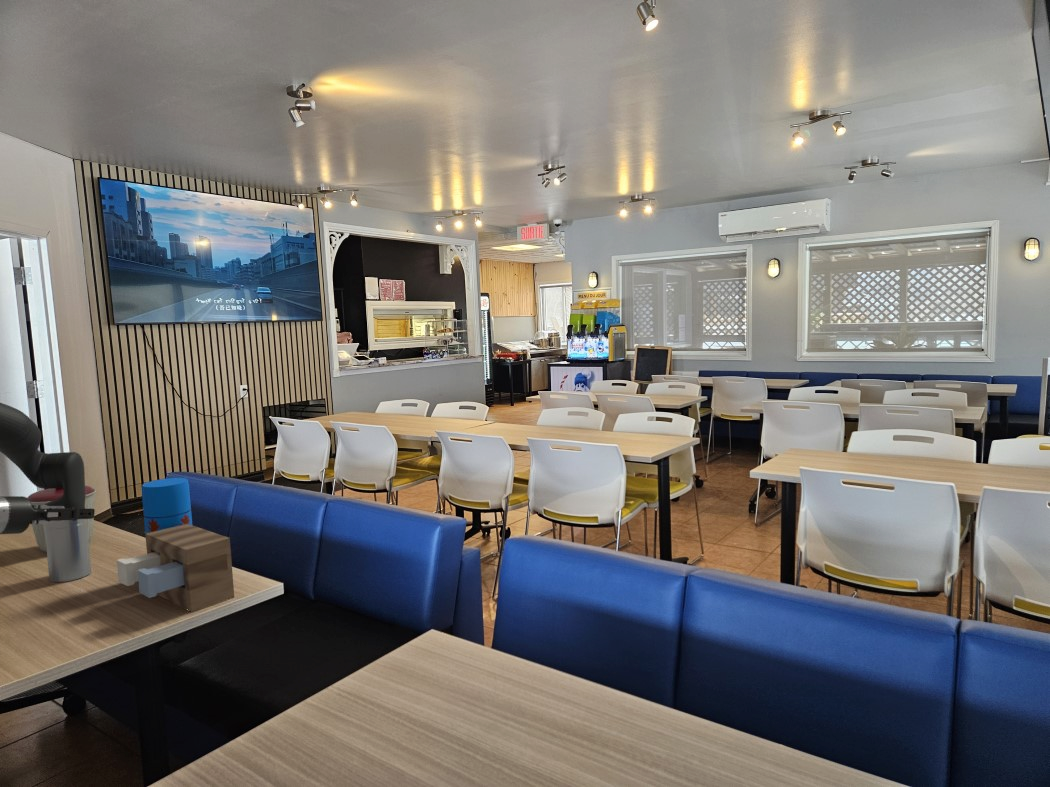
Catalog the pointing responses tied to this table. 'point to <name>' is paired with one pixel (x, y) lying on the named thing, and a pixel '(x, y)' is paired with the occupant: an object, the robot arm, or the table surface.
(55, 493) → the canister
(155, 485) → the thermos
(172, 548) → the housing
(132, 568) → the key white
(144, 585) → the key blue
